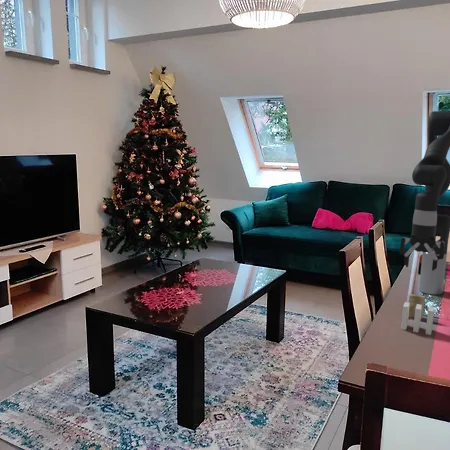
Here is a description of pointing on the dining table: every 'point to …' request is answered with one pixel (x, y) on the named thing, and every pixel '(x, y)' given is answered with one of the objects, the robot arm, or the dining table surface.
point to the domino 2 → (413, 302)
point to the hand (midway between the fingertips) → (419, 268)
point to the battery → (420, 264)
